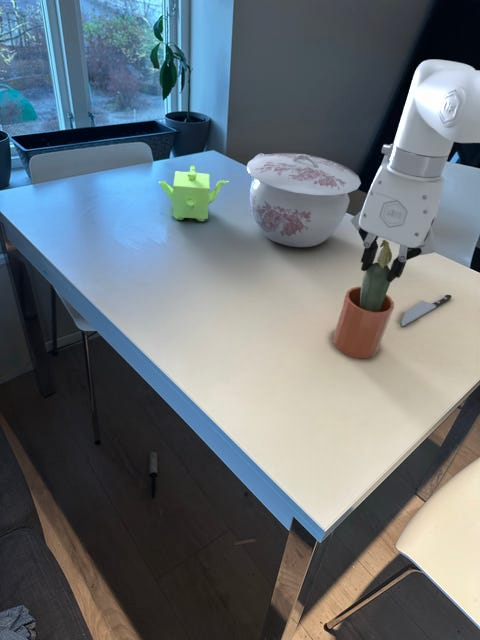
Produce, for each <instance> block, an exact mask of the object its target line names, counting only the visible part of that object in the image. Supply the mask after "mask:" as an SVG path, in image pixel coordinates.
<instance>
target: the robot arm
mask: <svg viewBox="0 0 480 640" xmlns="http://www.w3.org/2000/svg"><path fill="white" fill-rule="evenodd" d="M454 143H459V144H474V143H475V144H480V70H477V69H475V68H474V67H473V66H471V65H469V64H466V63H463V62H458V61H452V60H445V59H426V60H423V61H422V62H420V64H418V66H417V67H416V69H415V71H414V73H413V76H412V80H411V84H410V87H409V90H408V94H407V97H406V100H405V104H404V106H403V110H402V114H401V116H400V121H399V123H398V127H397V131H396V134H395V137H394V140H393V143H390V144H387V143H384V144H383V146H382V147H381V152H380V153H381V154H383V155H385V156H386V158H387V159H386V162H384V163H381V165H380V166H379V168H378V170H377V172H376V174H375V176H374V178H373V181H372V183H371V185H370V188H369V190H368V192H367V194H366V195H367V196H366V198H365V201H364V203H363V206H362V209H361V210H359V212H357V213H356V214H355V215H354V216H353V217H352V218H351V219H350V223H351V224H352V225H353V226H354V228H355V229H356V230H357V231H358V235H359V237H360V238H361V240H362V246H363V253H362V256H361V259H360V263H361V268H360V271H363V272H366V270H367V269H368V267H369V266H371V265H372V264H373V263H375V259H376V256H377V252H378V250H379V244H378V240H379V238H381V239H383V240H386V241H389V242H392V243H395V244H397V245H399V250H398V255H397V256H396V257H395V258H394V260H393V261H392V264H391V266H390V272H389V275H388V278H387V280H388V282H390V284H391V283H392V282H393V281H395V279H396V278H397V279H399V278H400V277H401V276H402V275H403V272H404V269H405V268H406V267H405V266H406V264H407V261H408V260H412V259H413V258H417V257H418V256H425V255H430V254H434V253H435V252H436V251H437V250H438V244H437V241H436V237H435V236H436V235H435V232H434V228H433V227H434V225H435V222H436V218H437V215H438V213H439V212H438V211H439V207H440V204H441V200H442V198H443V197H442V196H443V191H444V186H445V176H443V172H444V169H445V167H446V164H447V161H448V159H449V156H450V153H451V150H452V148H453V146H454ZM423 243H424V244H423Z"/></svg>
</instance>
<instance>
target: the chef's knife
mask: <svg viewBox="0 0 480 640" xmlns="http://www.w3.org/2000/svg"><path fill="white" fill-rule="evenodd" d="M451 298H453V296H452V295H451V294H445V295H444V297H443V298H441V299H439V300H437V301H434V302H432V303H431V302H428V301H424V300H422V301H420V302H419V303H417V304H415V305H414V306H412V307H411V308H409V309H408V310H406V311H405V312H404V314H403V316H402V318H401V327H404V326H406V325H408V324H410V323H413V322H414V321H415V320H417V319H419V318H422V316H424V315H426V314H427V313H429V312H431V311H432V310H434V309H436V308H438V307H439V306H441V305H442V304H444V303H446V302H447V301H449V300H451Z"/></svg>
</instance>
